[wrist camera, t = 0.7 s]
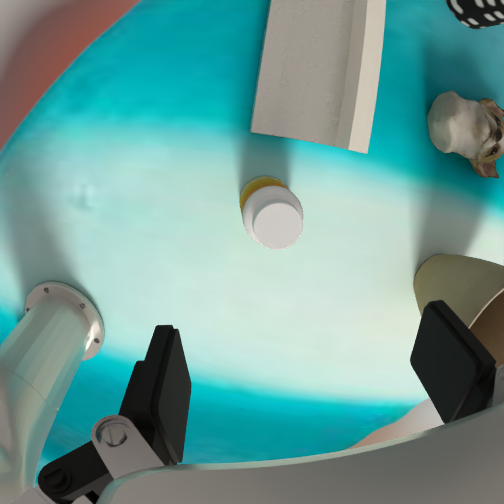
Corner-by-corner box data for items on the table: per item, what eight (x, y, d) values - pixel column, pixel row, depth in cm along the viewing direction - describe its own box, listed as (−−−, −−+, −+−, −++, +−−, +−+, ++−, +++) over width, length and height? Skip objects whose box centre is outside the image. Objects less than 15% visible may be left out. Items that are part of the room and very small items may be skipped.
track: (348, 149, 33) (367, 153, 28) (248, 131, 32) (252, 132, 27) (368, -7, 26) (386, -22, 21) (274, -32, 24) (281, -52, 20)
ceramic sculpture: (464, 67, 22) (537, 112, 24) (416, 72, 30) (492, 107, 32) (453, 170, 26) (527, 193, 28) (406, 156, 34) (483, 177, 36)
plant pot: (482, 233, 38) (557, 280, 24) (451, 320, 44) (507, 382, 29) (405, 220, 37) (489, 275, 22) (375, 322, 42) (428, 402, 27)
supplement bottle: (228, 200, 34) (229, 227, 25) (264, 164, 33) (279, 178, 24) (263, 233, 36) (276, 270, 27) (299, 199, 35) (324, 226, 26)
